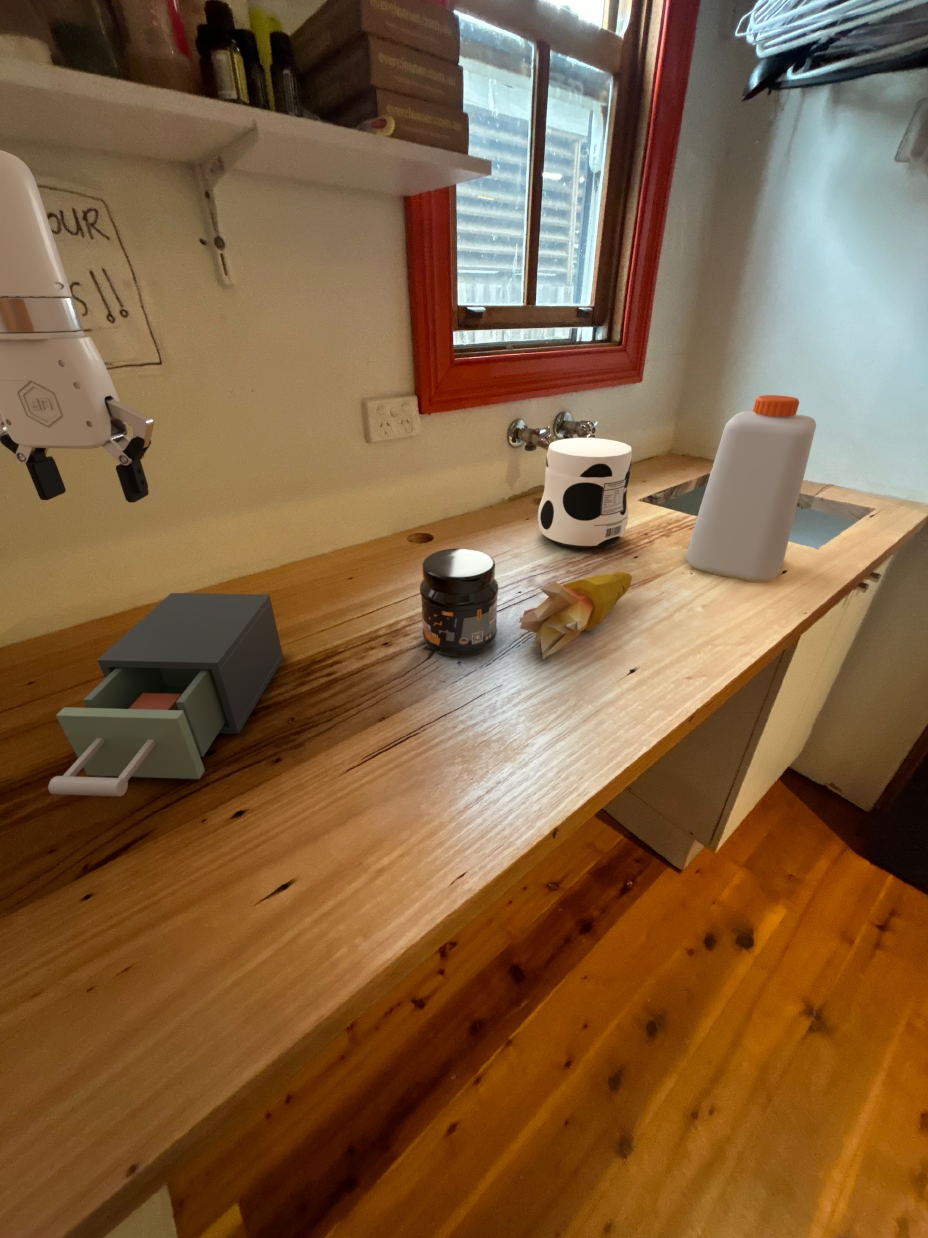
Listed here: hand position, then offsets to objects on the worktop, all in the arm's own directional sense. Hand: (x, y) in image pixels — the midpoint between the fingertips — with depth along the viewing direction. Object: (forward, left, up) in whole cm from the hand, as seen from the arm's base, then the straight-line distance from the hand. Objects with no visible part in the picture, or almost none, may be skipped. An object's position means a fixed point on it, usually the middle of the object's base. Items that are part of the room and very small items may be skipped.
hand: (96, 497), depth 59 cm
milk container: (+62, +46, -23) cm, 80 cm away
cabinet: (+10, -5, -23) cm, 25 cm away
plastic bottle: (+88, +35, -23) cm, 97 cm away
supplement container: (+40, +8, -23) cm, 47 cm away
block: (+9, -15, -21) cm, 28 cm away
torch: (+58, +12, -23) cm, 63 cm away
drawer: (+10, -16, -22) cm, 29 cm away
